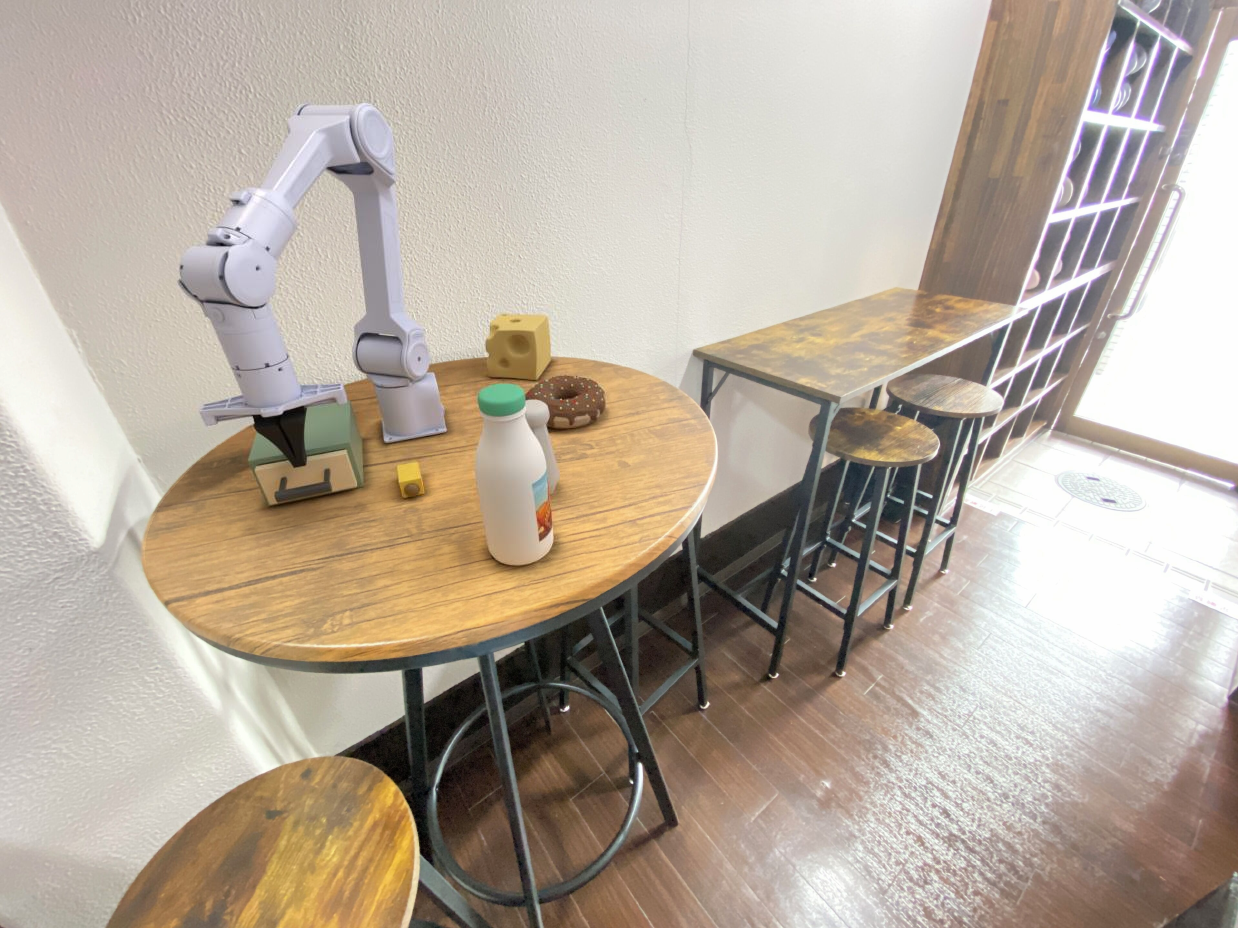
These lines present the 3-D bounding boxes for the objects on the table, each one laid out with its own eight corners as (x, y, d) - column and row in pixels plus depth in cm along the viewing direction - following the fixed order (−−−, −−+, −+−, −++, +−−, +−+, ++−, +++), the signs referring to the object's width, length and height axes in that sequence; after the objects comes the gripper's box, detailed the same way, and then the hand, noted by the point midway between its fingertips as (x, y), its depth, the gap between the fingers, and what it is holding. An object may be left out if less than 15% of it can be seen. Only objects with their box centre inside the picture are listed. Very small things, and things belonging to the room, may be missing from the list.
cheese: (487, 378, 104) (480, 328, 99) (506, 357, 113) (500, 310, 108) (539, 381, 103) (534, 331, 97) (554, 360, 112) (550, 313, 106)
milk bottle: (525, 577, 59) (503, 416, 48) (474, 552, 62) (443, 397, 51) (567, 537, 64) (555, 385, 53) (518, 516, 68) (498, 370, 57)
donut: (606, 396, 97) (605, 370, 95) (606, 433, 86) (606, 405, 83) (527, 397, 97) (525, 371, 94) (517, 434, 86) (514, 406, 83)
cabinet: (363, 486, 73) (349, 442, 70) (268, 506, 70) (247, 460, 66) (362, 440, 84) (349, 399, 80) (279, 455, 80) (262, 413, 76)
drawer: (357, 506, 68) (345, 472, 65) (264, 526, 65) (248, 491, 62) (356, 443, 82) (347, 412, 79) (280, 457, 78) (267, 425, 75)
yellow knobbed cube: (420, 473, 76) (417, 457, 75) (425, 497, 71) (421, 481, 70) (400, 477, 75) (396, 461, 74) (403, 502, 70) (399, 486, 69)
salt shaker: (553, 505, 70) (545, 417, 63) (512, 500, 71) (499, 413, 64) (565, 480, 75) (560, 396, 68) (527, 475, 76) (517, 392, 68)
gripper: (172, 385, 54) (227, 493, 61) (330, 363, 58) (363, 466, 66) (189, 360, 59) (237, 462, 67) (332, 342, 64) (362, 439, 71)
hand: (300, 463), depth 67 cm, fingers closed
